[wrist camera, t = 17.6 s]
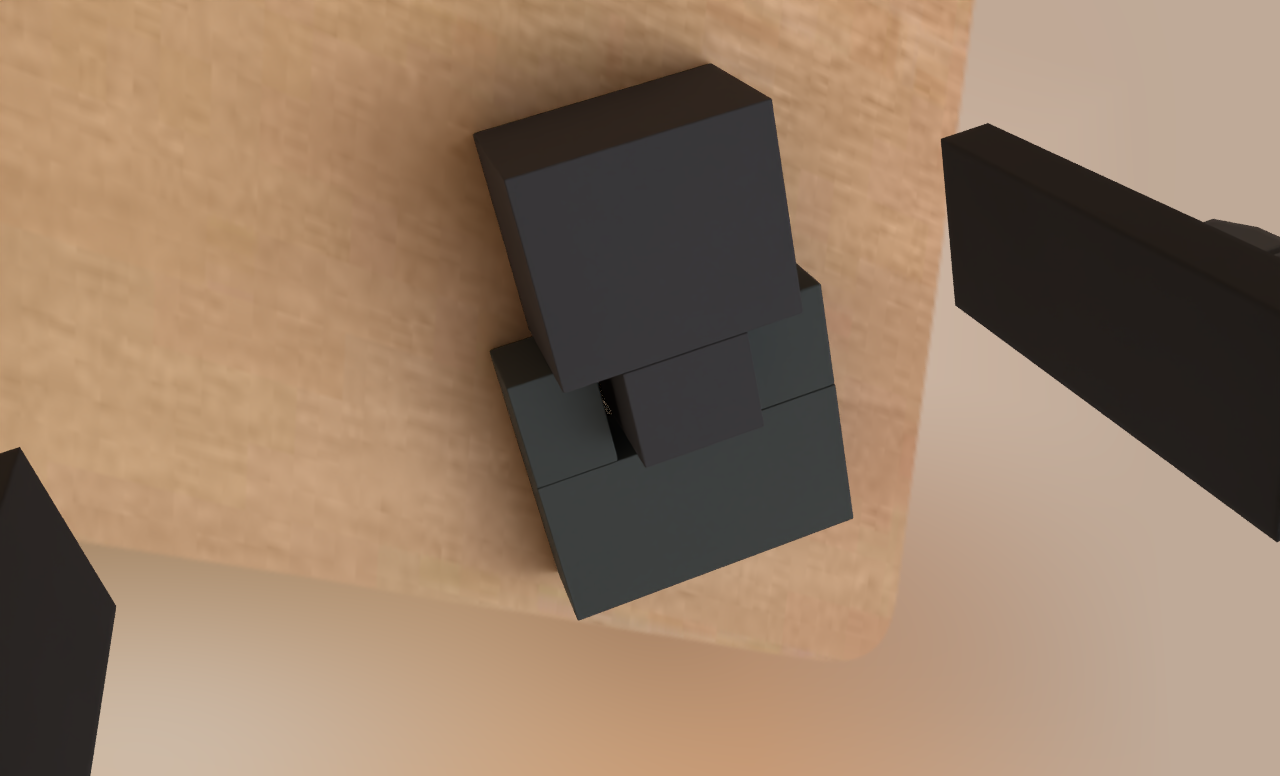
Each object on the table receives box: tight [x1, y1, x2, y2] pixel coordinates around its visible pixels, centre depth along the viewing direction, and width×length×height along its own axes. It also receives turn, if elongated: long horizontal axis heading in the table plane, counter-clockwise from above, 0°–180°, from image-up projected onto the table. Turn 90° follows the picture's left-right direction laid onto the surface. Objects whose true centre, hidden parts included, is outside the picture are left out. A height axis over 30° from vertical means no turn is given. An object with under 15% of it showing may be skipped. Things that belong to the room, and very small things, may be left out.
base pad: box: [490, 264, 853, 620], centre depth 41 cm, size 11×10×3 cm
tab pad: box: [473, 64, 803, 468], centre depth 37 cm, size 8×11×5 cm
